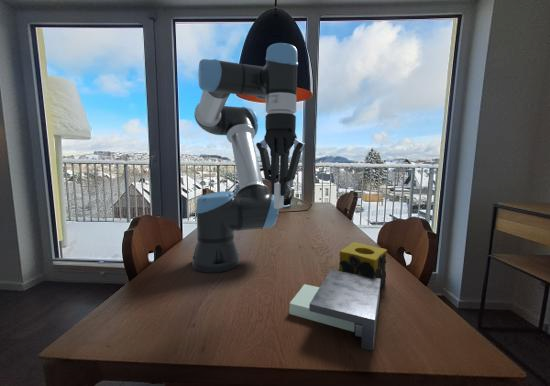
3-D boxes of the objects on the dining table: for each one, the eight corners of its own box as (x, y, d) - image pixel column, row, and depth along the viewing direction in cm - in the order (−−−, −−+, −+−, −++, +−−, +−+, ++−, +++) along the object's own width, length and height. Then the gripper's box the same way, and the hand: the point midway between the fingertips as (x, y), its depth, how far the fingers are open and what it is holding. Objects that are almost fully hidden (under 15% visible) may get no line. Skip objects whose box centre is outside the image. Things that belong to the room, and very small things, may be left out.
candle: (351, 273, 79) (353, 241, 78) (386, 283, 73) (388, 248, 72) (336, 285, 72) (337, 250, 70) (373, 297, 65) (376, 259, 64)
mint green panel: (289, 315, 58) (289, 303, 58) (304, 295, 67) (304, 284, 67) (354, 334, 52) (354, 320, 52) (360, 308, 61) (361, 296, 61)
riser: (308, 332, 52) (309, 303, 51) (329, 291, 68) (330, 269, 67) (372, 351, 47) (374, 320, 46) (379, 302, 63) (380, 278, 62)
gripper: (250, 113, 64) (249, 207, 67) (299, 110, 58) (296, 213, 62) (265, 117, 71) (264, 202, 74) (310, 114, 65) (307, 207, 68)
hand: (278, 207), depth 68 cm, fingers closed
